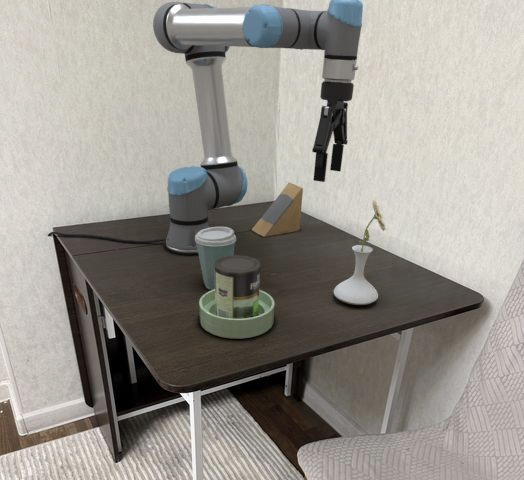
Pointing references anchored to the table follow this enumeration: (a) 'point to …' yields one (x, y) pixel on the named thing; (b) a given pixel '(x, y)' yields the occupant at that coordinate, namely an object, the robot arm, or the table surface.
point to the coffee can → (237, 286)
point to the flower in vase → (360, 272)
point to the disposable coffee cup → (213, 250)
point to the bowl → (236, 326)
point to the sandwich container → (282, 213)
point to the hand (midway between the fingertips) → (327, 175)
